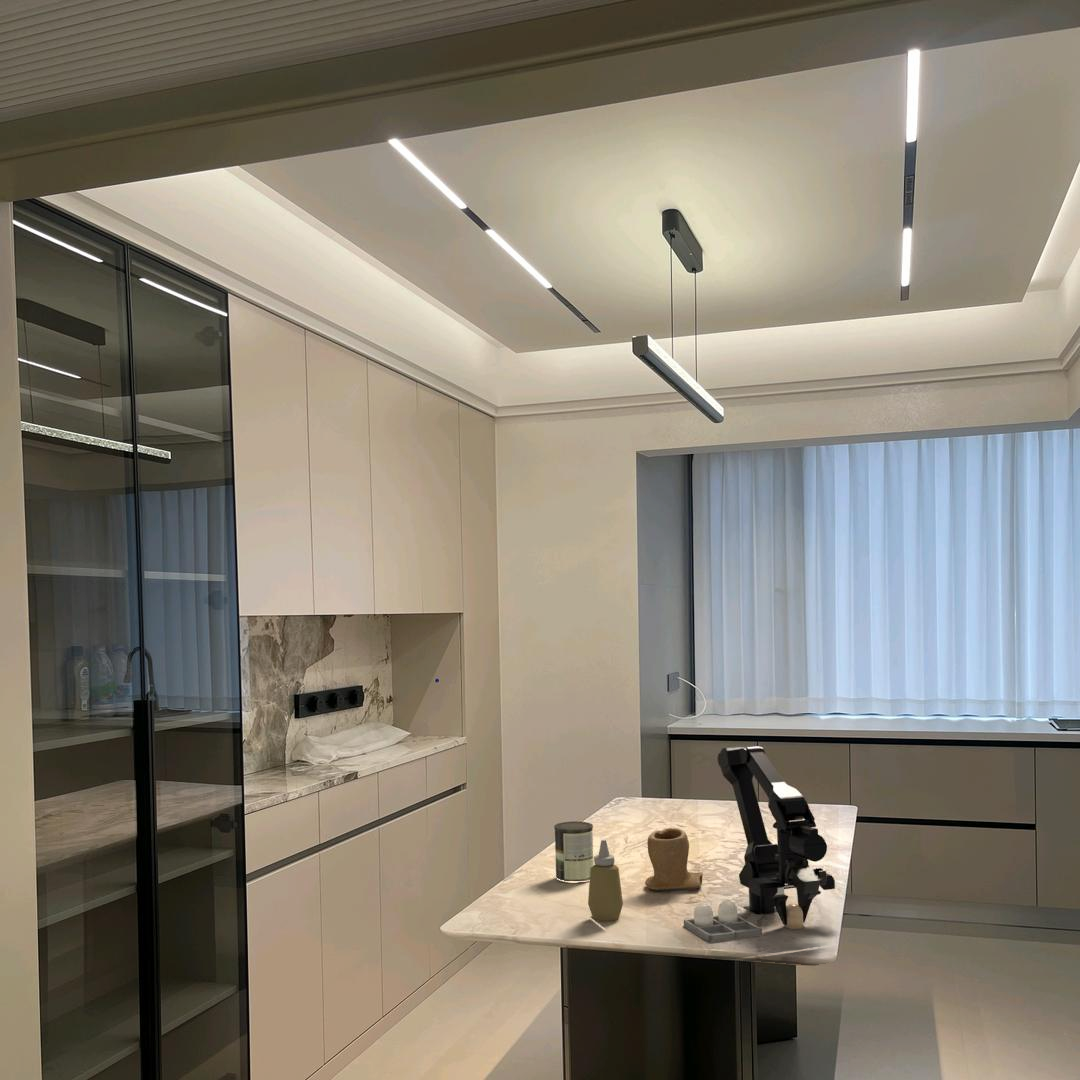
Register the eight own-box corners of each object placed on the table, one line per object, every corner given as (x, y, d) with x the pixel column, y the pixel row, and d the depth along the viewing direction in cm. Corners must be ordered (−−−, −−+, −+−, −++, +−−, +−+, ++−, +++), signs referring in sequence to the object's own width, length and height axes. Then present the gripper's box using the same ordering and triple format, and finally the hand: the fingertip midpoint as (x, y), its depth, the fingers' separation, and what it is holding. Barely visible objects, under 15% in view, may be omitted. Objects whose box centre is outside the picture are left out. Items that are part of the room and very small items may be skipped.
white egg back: (691, 926, 237) (690, 902, 237) (708, 924, 238) (707, 900, 238) (699, 932, 233) (698, 907, 233) (716, 929, 234) (715, 905, 234)
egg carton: (683, 928, 238) (683, 919, 238) (734, 921, 241) (734, 913, 242) (709, 944, 226) (709, 935, 226) (762, 937, 229) (762, 929, 230)
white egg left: (715, 923, 239) (714, 899, 239) (732, 921, 240) (731, 897, 240) (724, 928, 235) (723, 904, 235) (741, 926, 236) (740, 902, 236)
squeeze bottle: (607, 912, 251) (605, 835, 252) (630, 920, 245) (628, 840, 246) (581, 919, 246) (579, 840, 247) (604, 927, 240) (602, 846, 241)
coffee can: (548, 880, 282) (546, 826, 283) (569, 872, 290) (568, 819, 291) (580, 885, 276) (579, 830, 277) (601, 877, 285) (600, 823, 286)
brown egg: (780, 926, 237) (779, 902, 237) (797, 924, 238) (796, 900, 239) (790, 932, 233) (789, 907, 233) (807, 929, 234) (806, 905, 235)
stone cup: (647, 896, 265) (645, 835, 266) (644, 883, 277) (642, 825, 278) (708, 895, 264) (706, 833, 265) (702, 882, 276) (700, 824, 277)
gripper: (772, 863, 226) (775, 938, 225) (848, 855, 232) (851, 928, 231) (746, 852, 237) (749, 924, 236) (819, 845, 242) (822, 915, 241)
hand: (793, 923), depth 236 cm, fingers closed on brown egg, 4 cm apart
